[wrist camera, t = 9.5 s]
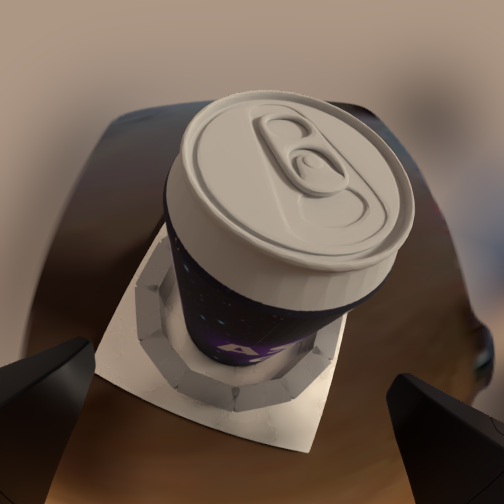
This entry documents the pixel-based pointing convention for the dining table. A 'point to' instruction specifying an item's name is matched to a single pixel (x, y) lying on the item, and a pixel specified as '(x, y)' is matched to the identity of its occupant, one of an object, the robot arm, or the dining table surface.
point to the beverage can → (279, 221)
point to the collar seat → (213, 365)
